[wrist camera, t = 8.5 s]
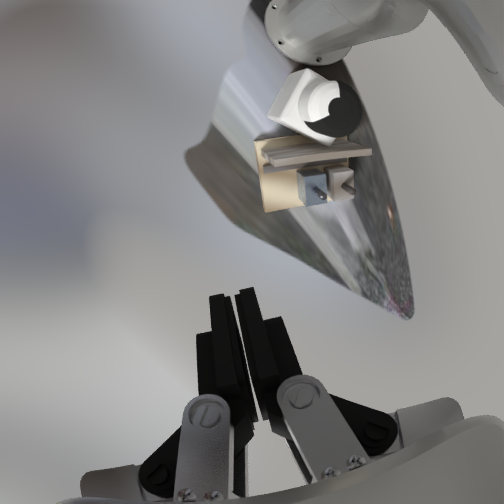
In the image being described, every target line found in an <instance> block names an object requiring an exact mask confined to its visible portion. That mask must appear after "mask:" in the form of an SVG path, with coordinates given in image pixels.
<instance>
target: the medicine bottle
mask: <svg viewBox="0 0 504 504" xmlns="http://www.w3.org/2000/svg"><path fill="white" fill-rule="evenodd" d="M361 116H362V106H361V102H360V99H359V97H358V95H357V94H356V92H355V91H354V90H353V89H352V88H351V87H350V86H348V85H347V84H345V83H343V82H340V81H328V80H327V79H325V78H324V77H322V76H321V75H319V74H317V73H316V72H314V71H312V70H311V69H308V68H307V69H303V70H300V71H297V72H294V73H291V74H289V75H288V77H287V79H286V80H285V82H284V84H283V86H282V88H281V90H280V91H279V93H278V95H277V97H276V99H275V101H274V103H273V104H272V106H271V108H270V110H269V112H268V114H267V117H268V118H270V119H272V120H274V121H276V122H277V123H279V124H281V125H283V126H285V127H287V128H289V129H291V130H293V131H295V132H297V133H298V134H300V135H303V136H305V137H307V138H309V139H310V140H312V141H315V142H317V143H320V144H323V145H325V146H328V147H330V146H332V144H333V142H334V140H335V138H340V137H345V136H347V135H349V134H351V133H352V132H353V131H354V130H355V129H356V128H357V126H358V125H359V123H360V120H361Z"/></svg>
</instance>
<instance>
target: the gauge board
mask: <svg viewBox="0 0 504 504" xmlns="http://www.w3.org/2000/svg"><path fill="white" fill-rule="evenodd" d="M254 145H255V151H256V158H257V165H258V172H259V179H260V186H261V193H262V200H263V207H264V211H265V212H271V211H276V210H281V209H287V208H292V207H297V206H303V205H304V204H303V202H302V201H301V200H300V199H299V196H298V184H297V174H296V171H302V170H309V169H316V168H317V169H319V170H320V171H322V172H323V173H325V174H326V184H327V201H331V200H333V201H341V200H346V199H352V198H354V194H355V193H356V190H355V189H354V171H353V170H352V169H350V168H349V162H348V157H357V156H367V155H372V149H371V148H368V147H365V146H362V145H359V144H356V143H353V142H350V141H347V136H345V137H340V138H335V140H334V142H333V144H332V146H330V147H328V146H325V145H323V144H320V143H317V142H315V141H312V140H310V139H309V138H307V137H305V136H303V135H293V136H285V137H277V138H270V139H263V140H257V141H254Z"/></svg>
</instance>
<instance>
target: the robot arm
mask: <svg viewBox="0 0 504 504" xmlns="http://www.w3.org/2000/svg"><path fill="white" fill-rule="evenodd" d="M272 7H274V8H275V9H273V8H272ZM428 9H430V10H431V11H432V12H433V13H434V14H435V15H436V16H437V18H438V19H439V20H440V21H441V23H442V24H443V25H444V26H445V27H446V28H447V29H448V31H449V32H450V33H451V35H452V36H453V37H454V39H455V40H456V41H457V43H458V44H459V46H460V47H461V48H462V50H463V51H464V53H465V54H466V56H467V57H468V59H469V61H470V62H471V63H472V65H473V67H474V68H475V70H476V71H477V73H478V75H479V76H480V78H481V80H482V81H483V83H484V84H485V86H486V88H487V89H488V90H489V92H490V93H491V94H492V96H494V97H495V99H496V100H497V101H498V102H499V103H500V104H501V105H503V106H504V0H272V1H271V2H270V3H269V5H268V7H267V9H266V12H265V17H264V24H265V29H266V32H267V34H268V37H269V39H270V40H271V42H272V43H273V45H274V46H275V47H276V48H277V49H278V50H279V51H280V52H281V53H283V54H284V55H285V56H286V57H288V58H290V59H292V60H294V61H296V62H299V63H301V64H305V65H310V66H323V65H328V64H332V63H335V62H337V61H339V60H341V59H342V58H343V57H345V56H346V55H347V53H348V52H349V51H350V49H351V47H352V46H353V45H357V44H361V43H365V42H369V41H373V40H377V39H381V38H385V37H390V36H395V35H400V34H404V33H407V32H410V31H412V30H414V29H415V28H416V27H418V25H419V24H421V23H422V21H423V20H424V18H425V16H426V14H427V12H428ZM278 42H281V45H280V44H279V43H278ZM316 59H317V60H318V62H317V61H316ZM239 291H240V294H237V295H235V301H236V306H237V312H238V316H239V322H240V327H241V332H242V337H243V342H244V347H245V352H246V357H247V362H248V367H249V371H250V376H251V380H252V384H253V387H254V391H255V394H256V398H257V401H258V405H259V408H260V411H261V415H262V417H263V420H268V419H269V421H270V425H271V428H272V432H274V433H276V434H278V435H280V436H282V437H284V440H285V442H286V444H287V446H288V448H289V450H290V452H291V454H292V456H293V458H294V460H295V462H296V464H297V466H298V468H299V470H300V472H301V474H302V476H303V478H304V480H305V482H306V484H307V485H304V486H301V487H297V488H292V489H288V490H284V491H279V492H274V493H270V494H264V495H258V496H251V497H248V445H247V443H248V442H249V441H250V440H251V439H252V437H253V436H254V433H253V430H254V425H253V422H258V416H257V412H256V407H255V402H254V398H253V393H252V388H251V383H250V378H249V374H248V369H247V364H246V359H245V355H244V350H243V344H242V341H241V337H240V333H239V329H238V325H237V322H236V318H235V314H234V310H233V306H232V302H231V298H230V296H227V297H225V296H224V294H218V295H213V296H210V297H209V303H210V316H211V328H212V331H210V332H205V333H200V334H197V335H196V346H197V347H196V348H197V372H198V391H199V396H198V397H195V398H194V399H192V400H191V401H190V402H189V403H188V404H187V405H186V407H185V409H184V412H183V419H182V425H181V426H180V428H179V429H177V430H176V431H175V432H174V434H172V435H171V436H170V437H169V439H167V440H166V441H165V442H164V443H163V444H162V445H161V446H160V447H159V448H158V449H157V450H156V451H155V452H154V453H153V454H152V455H151V456H150V457H149V458H148V459H147V460H145V461H144V463H143V464H141V465H137V466H135V465H133V464H132V465H127V466H121V467H115V468H109V469H103V470H95V471H90V472H87V473H85V474H84V475H83V476H82V478H81V481H80V489H81V495H82V497H78V498H70V499H66V500H63V501H61V502H58V503H56V504H504V422H503V421H502V420H500V419H499V418H497V417H495V416H490V415H483V416H476V417H471V418H467V419H464V416H463V413H462V410H461V407H460V405H459V404H458V402H457V401H455V400H454V399H452V398H449V397H446V398H440V399H437V400H433V401H430V402H426V403H423V404H419V405H415V406H411V407H407V408H403V409H398V410H396V412H394V413H389V414H386V413H384V412H381V411H378V410H375V409H371V408H369V407H366V406H363V405H360V404H357V403H354V402H351V401H348V400H345V399H342V398H339V397H337V396H334V395H332V394H329V393H328V392H327V390H326V389H325V387H324V386H323V384H322V383H321V382H320V381H319V380H318V379H316V378H314V377H312V376H308V375H303V374H302V371H301V368H300V366H299V363H298V360H297V357H296V355H295V352H294V349H293V346H292V344H291V341H290V338H289V336H288V333H287V330H286V327H285V325H284V322H283V319H282V317H281V316H280V317H276V318H271V319H267V320H263V318H262V315H261V311H260V308H259V305H258V301H257V298H256V294H255V291H254V287H251V288H246V289H242V290H239Z"/></svg>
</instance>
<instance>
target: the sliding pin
mask: <svg viewBox="0 0 504 504" xmlns="http://www.w3.org/2000/svg"><path fill="white" fill-rule="evenodd" d="M296 174H297V184H298V196H299V199H300V200H301V201H302V202H303V204H304V205H305V206H306V207H307V206H312V205H318V204H323V203H327V184H326V174H325V173H323V172H322V171H320V170H319V169H317V168H316V169H309V170H302V171H296Z"/></svg>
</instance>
